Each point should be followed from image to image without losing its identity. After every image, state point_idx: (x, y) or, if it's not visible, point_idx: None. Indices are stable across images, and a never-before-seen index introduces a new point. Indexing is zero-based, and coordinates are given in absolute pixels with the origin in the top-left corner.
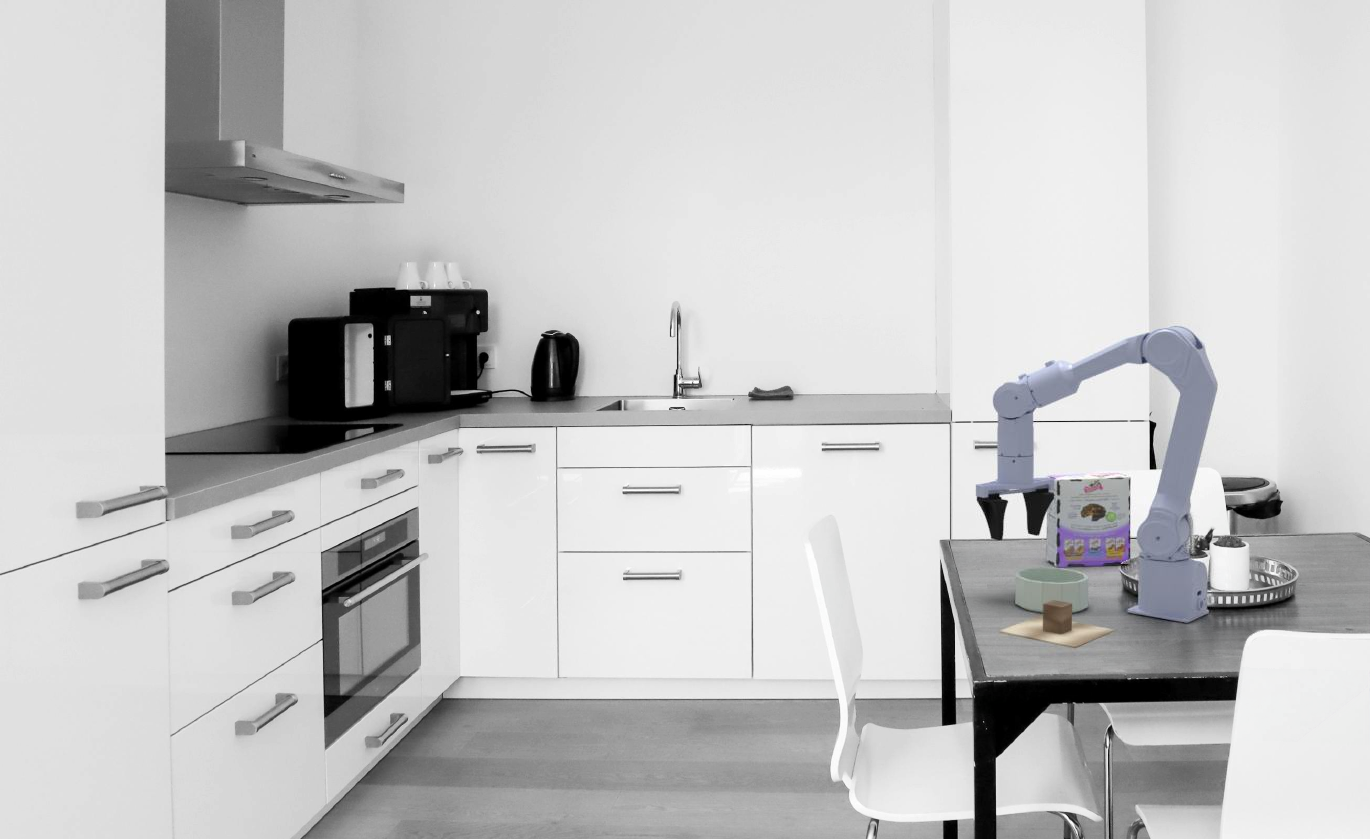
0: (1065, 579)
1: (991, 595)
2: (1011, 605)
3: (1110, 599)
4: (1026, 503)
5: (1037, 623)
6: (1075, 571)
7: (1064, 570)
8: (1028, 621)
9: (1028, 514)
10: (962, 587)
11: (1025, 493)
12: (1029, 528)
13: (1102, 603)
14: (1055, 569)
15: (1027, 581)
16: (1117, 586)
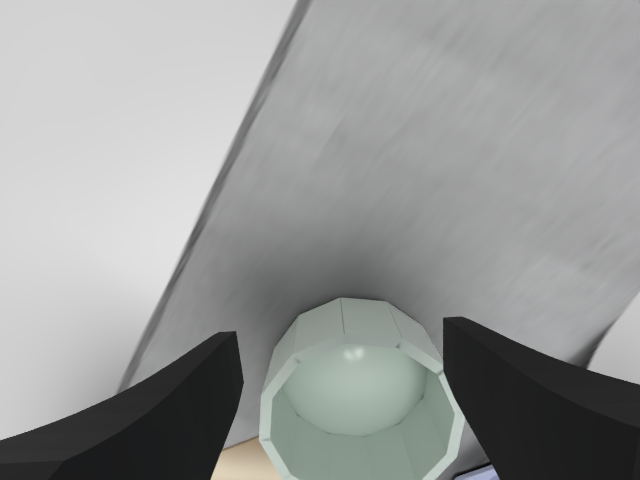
0: (435, 373)
1: (278, 239)
2: (269, 337)
3: None
4: (550, 405)
5: (233, 473)
6: (456, 417)
7: (443, 387)
8: (224, 457)
9: (496, 373)
10: (252, 127)
11: (637, 477)
12: (452, 341)
13: None
14: (428, 368)
15: (262, 443)
16: (634, 291)
